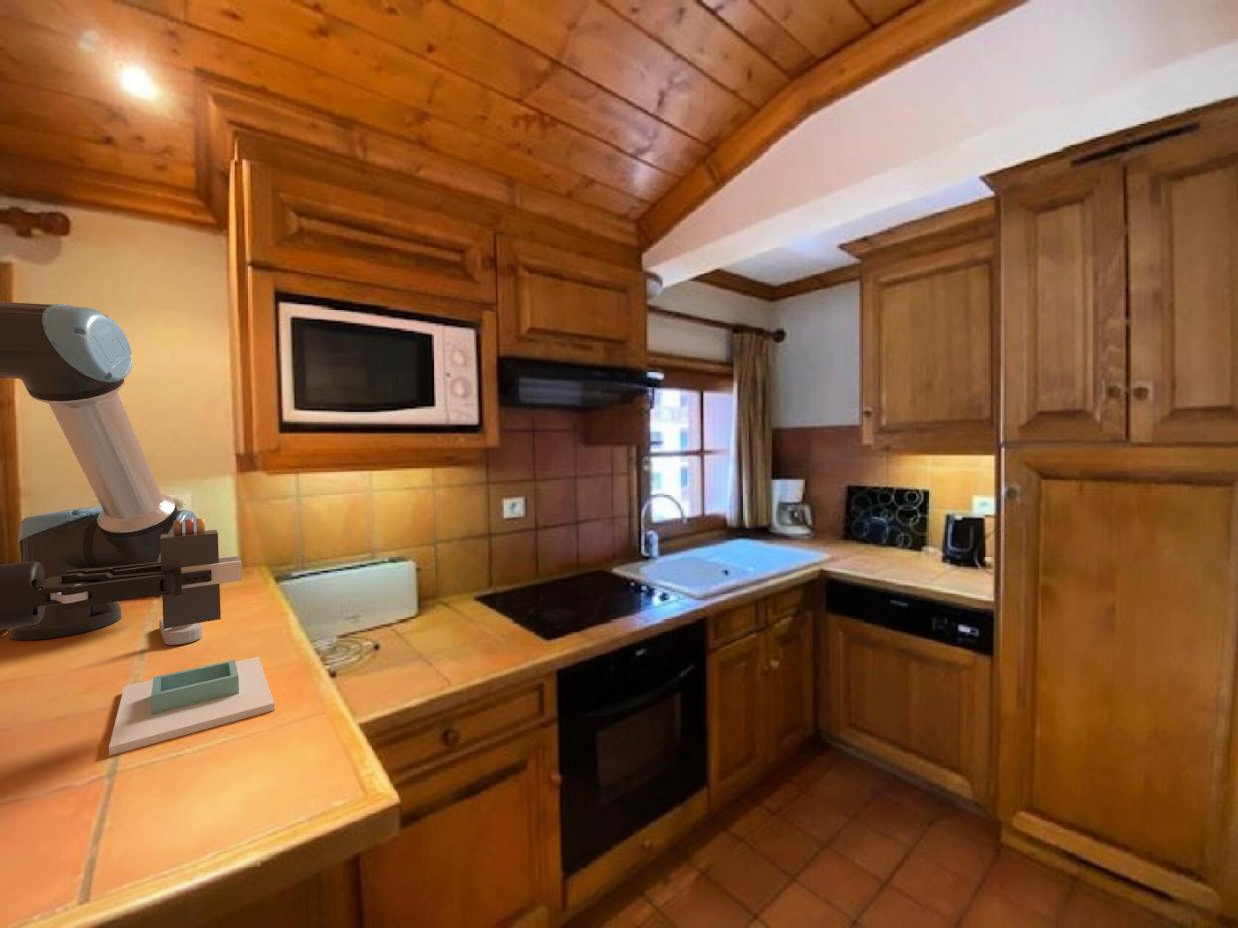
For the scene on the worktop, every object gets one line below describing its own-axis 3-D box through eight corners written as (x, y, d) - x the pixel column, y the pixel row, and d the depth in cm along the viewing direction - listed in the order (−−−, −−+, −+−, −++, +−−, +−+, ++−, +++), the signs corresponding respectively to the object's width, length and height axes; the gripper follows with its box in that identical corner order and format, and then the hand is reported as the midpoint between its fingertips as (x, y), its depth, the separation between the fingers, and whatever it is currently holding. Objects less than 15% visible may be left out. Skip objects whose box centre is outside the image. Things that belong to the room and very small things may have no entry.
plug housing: (164, 621, 72) (160, 519, 71) (219, 612, 76) (216, 516, 75) (163, 629, 69) (159, 523, 68) (220, 619, 72) (217, 518, 72)
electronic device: (191, 576, 106) (202, 588, 95) (193, 624, 106) (204, 641, 95) (156, 581, 102) (163, 594, 91) (158, 631, 102) (166, 649, 91)
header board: (124, 692, 75) (123, 668, 75) (258, 662, 86) (258, 641, 85) (109, 755, 60) (107, 725, 60) (274, 710, 70) (273, 684, 70)
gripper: (11, 612, 67) (236, 581, 82) (-31, 652, 54) (246, 606, 69) (9, 554, 67) (235, 534, 82) (-35, 580, 54) (244, 550, 69)
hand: (239, 567), depth 75 cm, fingers closed on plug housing, 4 cm apart
